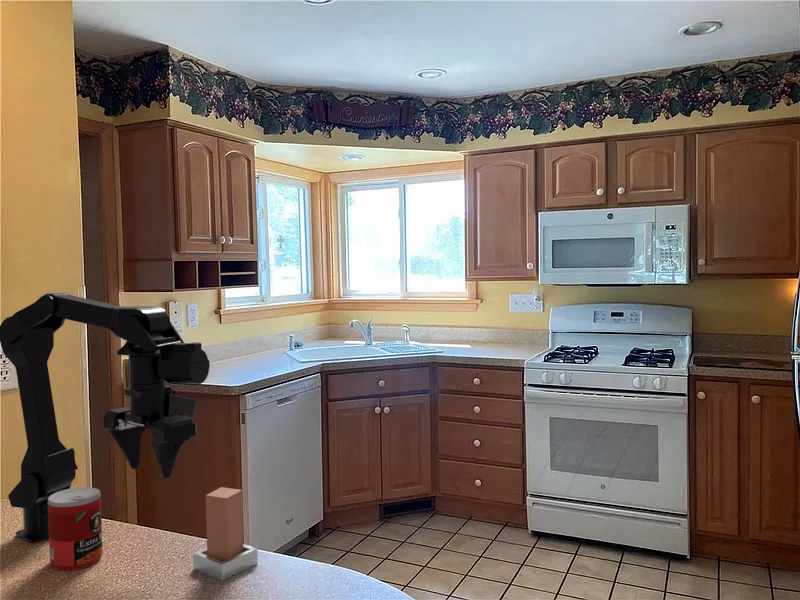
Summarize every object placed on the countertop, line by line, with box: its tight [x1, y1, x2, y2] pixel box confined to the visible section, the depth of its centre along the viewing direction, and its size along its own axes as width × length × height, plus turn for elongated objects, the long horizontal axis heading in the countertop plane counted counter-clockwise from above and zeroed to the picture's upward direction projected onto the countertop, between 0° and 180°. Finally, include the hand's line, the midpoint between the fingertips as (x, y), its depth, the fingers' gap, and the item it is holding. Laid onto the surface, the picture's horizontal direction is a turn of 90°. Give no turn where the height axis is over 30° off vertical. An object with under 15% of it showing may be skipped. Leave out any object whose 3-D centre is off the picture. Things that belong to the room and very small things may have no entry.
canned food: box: [48, 486, 103, 571], centre depth 107 cm, size 8×8×11 cm
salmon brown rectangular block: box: [205, 486, 244, 562], centre depth 104 cm, size 4×4×12 cm
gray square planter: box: [192, 543, 258, 581], centre depth 105 cm, size 7×7×2 cm
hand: (150, 473), depth 111 cm, fingers open, 9 cm apart
